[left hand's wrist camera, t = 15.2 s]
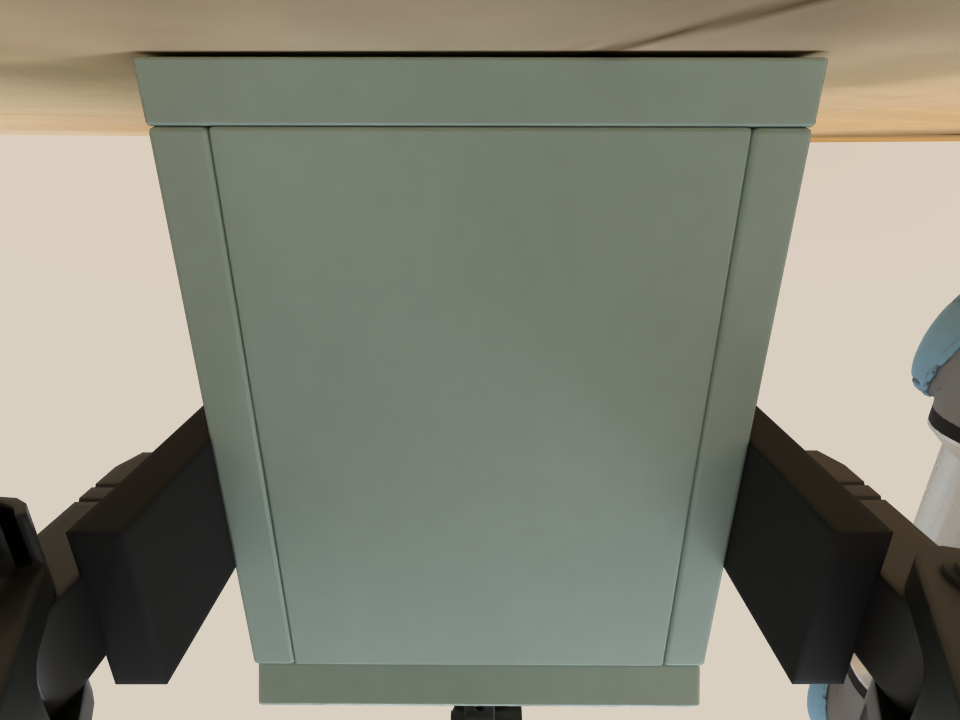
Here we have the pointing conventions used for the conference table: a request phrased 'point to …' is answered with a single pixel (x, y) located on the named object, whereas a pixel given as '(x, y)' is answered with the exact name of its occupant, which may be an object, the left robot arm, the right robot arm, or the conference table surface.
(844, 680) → the left robot arm
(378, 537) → the chest
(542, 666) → the lid
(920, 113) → the conference table surface
